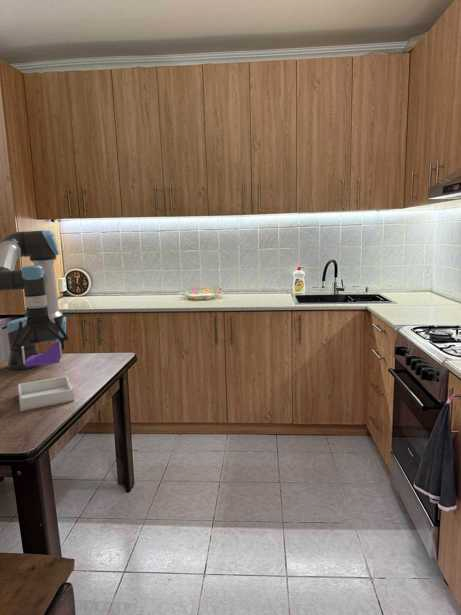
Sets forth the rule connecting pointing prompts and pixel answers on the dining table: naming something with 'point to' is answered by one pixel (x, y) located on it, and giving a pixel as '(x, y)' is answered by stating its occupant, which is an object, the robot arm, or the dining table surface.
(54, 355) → the bracket
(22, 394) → the bin
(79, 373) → the dining table surface
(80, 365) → the dining table surface
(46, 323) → the robot arm
